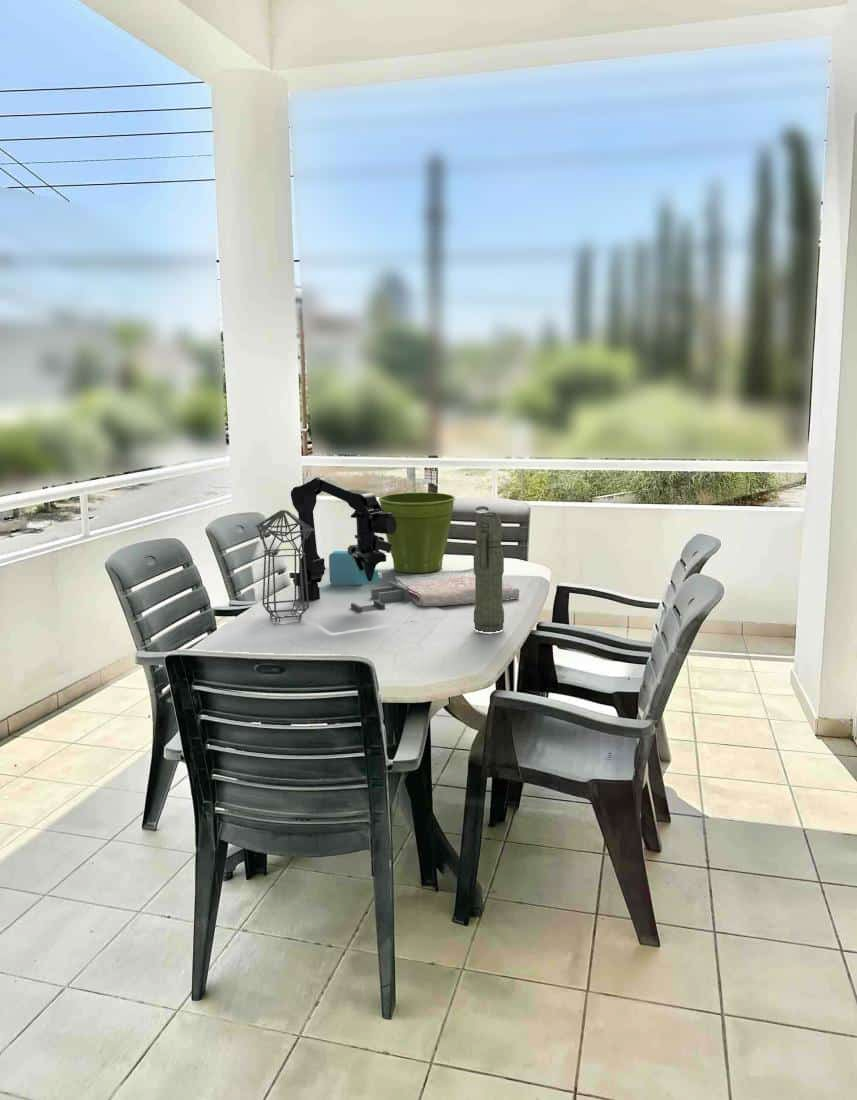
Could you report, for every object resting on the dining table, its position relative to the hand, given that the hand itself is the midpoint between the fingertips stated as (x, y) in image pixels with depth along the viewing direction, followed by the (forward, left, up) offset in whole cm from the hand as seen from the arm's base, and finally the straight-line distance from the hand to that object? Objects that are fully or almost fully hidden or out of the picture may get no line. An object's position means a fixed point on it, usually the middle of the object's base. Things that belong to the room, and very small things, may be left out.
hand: (367, 579), depth 281 cm
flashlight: (+23, -39, -11) cm, 46 cm away
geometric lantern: (-26, +3, -11) cm, 28 cm away
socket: (+10, +9, -10) cm, 17 cm away
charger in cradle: (0, 0, -10) cm, 10 cm away
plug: (0, 0, -1) cm, 1 cm away
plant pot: (+42, +50, -11) cm, 66 cm away
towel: (+35, +7, -11) cm, 37 cm away
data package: (+8, +40, -11) cm, 42 cm away
